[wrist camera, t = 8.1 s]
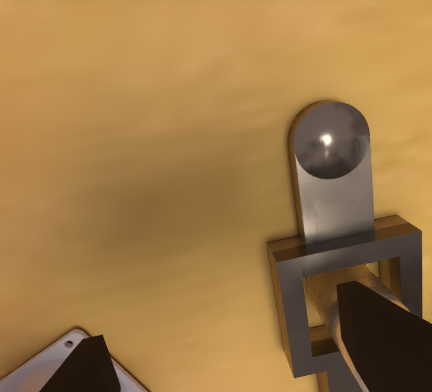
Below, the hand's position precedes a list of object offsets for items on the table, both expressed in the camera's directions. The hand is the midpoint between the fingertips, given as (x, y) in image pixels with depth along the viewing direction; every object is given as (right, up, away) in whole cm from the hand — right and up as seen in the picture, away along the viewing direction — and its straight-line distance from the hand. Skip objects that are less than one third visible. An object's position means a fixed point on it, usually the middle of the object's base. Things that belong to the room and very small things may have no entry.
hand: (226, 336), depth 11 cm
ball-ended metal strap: (+7, -1, +12) cm, 14 cm away
